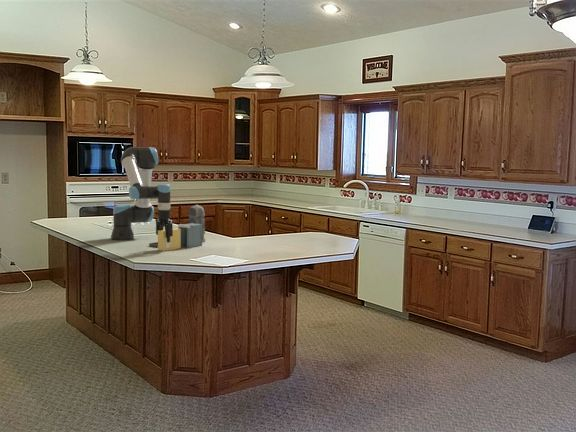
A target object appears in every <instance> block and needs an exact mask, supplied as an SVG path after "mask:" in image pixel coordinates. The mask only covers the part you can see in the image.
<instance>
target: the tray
mask: <svg viewBox="0 0 576 432" xmlns="http://www.w3.org/2000/svg"><path fill="white" fill-rule="evenodd" d="M148 246H149V247H151V246H152V247H153V248H157V247H158V241H157V242H149V244H148Z"/></svg>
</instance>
